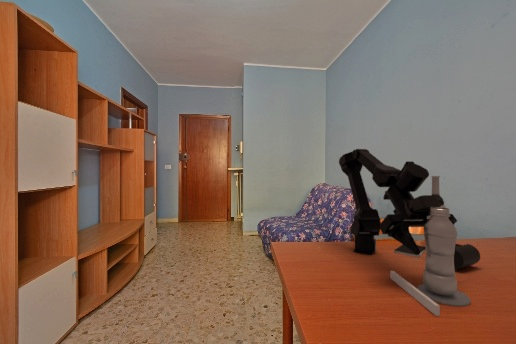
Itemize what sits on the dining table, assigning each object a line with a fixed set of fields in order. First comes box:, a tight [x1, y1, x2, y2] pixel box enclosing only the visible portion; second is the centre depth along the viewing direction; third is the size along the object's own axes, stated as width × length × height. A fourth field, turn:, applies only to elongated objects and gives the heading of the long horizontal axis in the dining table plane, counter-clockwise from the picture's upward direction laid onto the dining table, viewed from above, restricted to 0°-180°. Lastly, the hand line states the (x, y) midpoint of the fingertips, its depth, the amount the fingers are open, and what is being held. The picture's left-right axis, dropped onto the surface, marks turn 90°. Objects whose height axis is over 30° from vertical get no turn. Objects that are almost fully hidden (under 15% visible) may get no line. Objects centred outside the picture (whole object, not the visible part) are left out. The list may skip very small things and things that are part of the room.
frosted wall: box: [389, 270, 441, 317], centre depth 58 cm, size 18×1×2 cm, turn 178°
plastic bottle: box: [422, 207, 458, 296], centre depth 58 cm, size 6×7×20 cm
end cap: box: [454, 243, 481, 271], centre depth 76 cm, size 10×7×7 cm
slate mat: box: [416, 283, 472, 307], centre depth 58 cm, size 10×10×1 cm
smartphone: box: [393, 244, 426, 258], centre depth 93 cm, size 8×1×15 cm
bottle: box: [427, 175, 447, 219], centre depth 99 cm, size 7×7×28 cm
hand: (435, 253), depth 60 cm, fingers open, 9 cm apart
